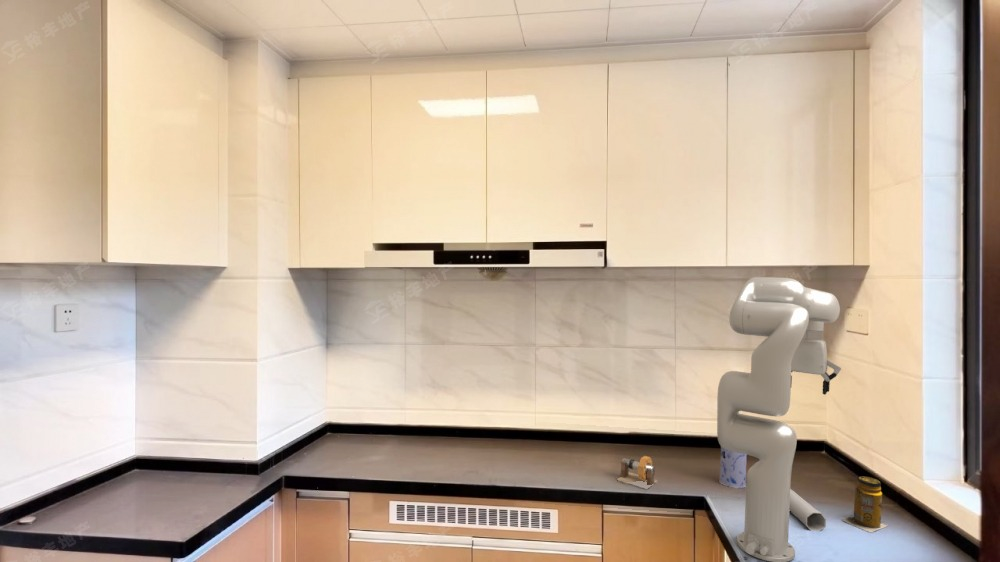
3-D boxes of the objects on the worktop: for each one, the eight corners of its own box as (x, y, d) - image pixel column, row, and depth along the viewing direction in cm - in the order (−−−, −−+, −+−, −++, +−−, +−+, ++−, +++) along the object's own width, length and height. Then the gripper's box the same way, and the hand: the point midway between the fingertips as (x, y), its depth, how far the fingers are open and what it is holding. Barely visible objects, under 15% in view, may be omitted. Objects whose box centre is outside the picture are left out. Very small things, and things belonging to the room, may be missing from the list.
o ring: (643, 482, 162) (643, 461, 161) (637, 480, 163) (638, 459, 163) (652, 476, 167) (652, 455, 167) (646, 474, 168) (647, 454, 168)
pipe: (650, 476, 162) (650, 466, 162) (621, 467, 168) (621, 458, 168) (654, 473, 164) (655, 464, 164) (625, 465, 171) (625, 456, 171)
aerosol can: (716, 477, 171) (718, 416, 171) (742, 479, 170) (744, 418, 170) (722, 487, 164) (724, 423, 163) (749, 489, 162) (751, 425, 162)
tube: (760, 477, 163) (803, 515, 138) (777, 473, 162) (823, 509, 137) (765, 494, 163) (808, 534, 138) (782, 489, 162) (829, 529, 137)
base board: (646, 490, 160) (647, 472, 160) (617, 480, 167) (617, 463, 166) (657, 482, 166) (658, 465, 166) (628, 473, 173) (629, 457, 173)
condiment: (887, 526, 141) (889, 482, 141) (871, 533, 137) (873, 488, 137) (858, 514, 147) (860, 472, 147) (841, 521, 143) (843, 477, 143)
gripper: (774, 333, 164) (772, 388, 164) (840, 339, 152) (837, 398, 153) (780, 331, 169) (778, 384, 170) (844, 337, 158) (841, 393, 159)
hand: (806, 390), depth 161 cm, fingers open, 9 cm apart
